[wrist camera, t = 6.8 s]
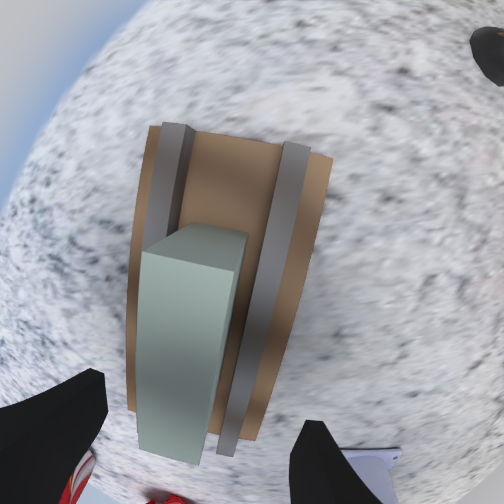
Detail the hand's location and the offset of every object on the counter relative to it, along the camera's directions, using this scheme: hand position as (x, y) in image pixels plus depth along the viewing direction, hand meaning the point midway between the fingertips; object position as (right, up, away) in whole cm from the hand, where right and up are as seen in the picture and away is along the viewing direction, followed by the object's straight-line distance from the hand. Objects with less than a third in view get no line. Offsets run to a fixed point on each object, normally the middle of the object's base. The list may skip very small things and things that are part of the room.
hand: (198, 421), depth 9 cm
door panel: (-1, +2, +8) cm, 8 cm away
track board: (-1, +2, +9) cm, 9 cm away
